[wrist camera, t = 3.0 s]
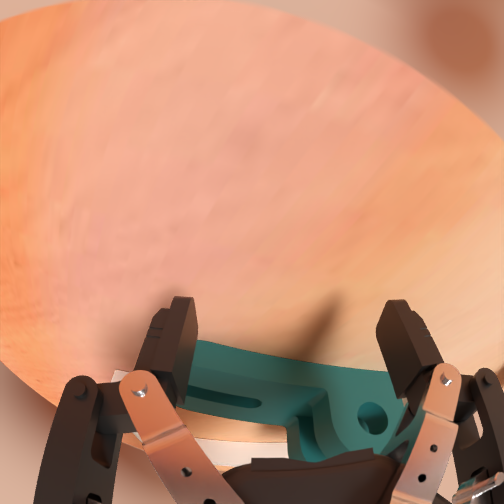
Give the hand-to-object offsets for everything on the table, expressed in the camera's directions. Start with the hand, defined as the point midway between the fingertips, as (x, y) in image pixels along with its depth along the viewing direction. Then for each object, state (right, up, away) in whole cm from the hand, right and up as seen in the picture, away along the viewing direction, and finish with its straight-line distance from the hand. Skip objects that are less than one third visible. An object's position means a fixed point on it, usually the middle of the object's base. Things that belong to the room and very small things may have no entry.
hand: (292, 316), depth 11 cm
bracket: (0, -7, +9) cm, 11 cm away
